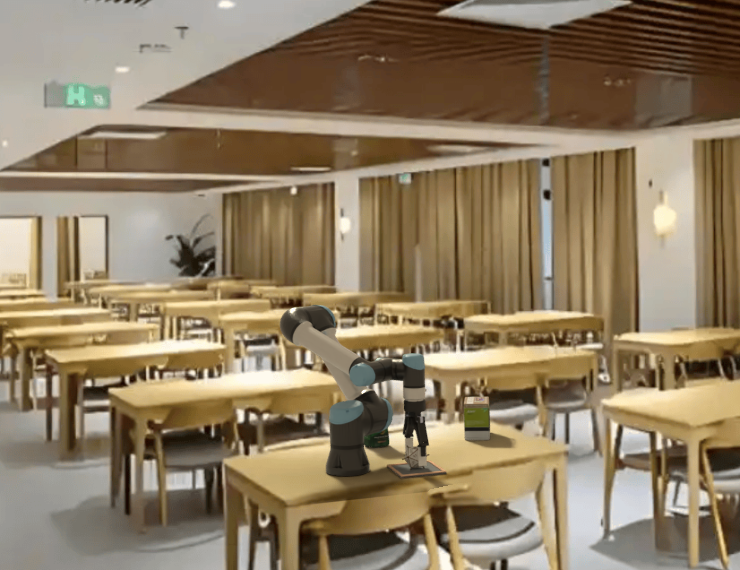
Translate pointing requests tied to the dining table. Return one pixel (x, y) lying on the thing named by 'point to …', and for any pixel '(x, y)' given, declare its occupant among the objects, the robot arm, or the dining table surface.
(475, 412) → the tea box
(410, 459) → the game die
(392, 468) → the mat
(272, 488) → the dining table surface
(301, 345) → the robot arm
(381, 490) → the dining table surface
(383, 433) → the coffee jar
